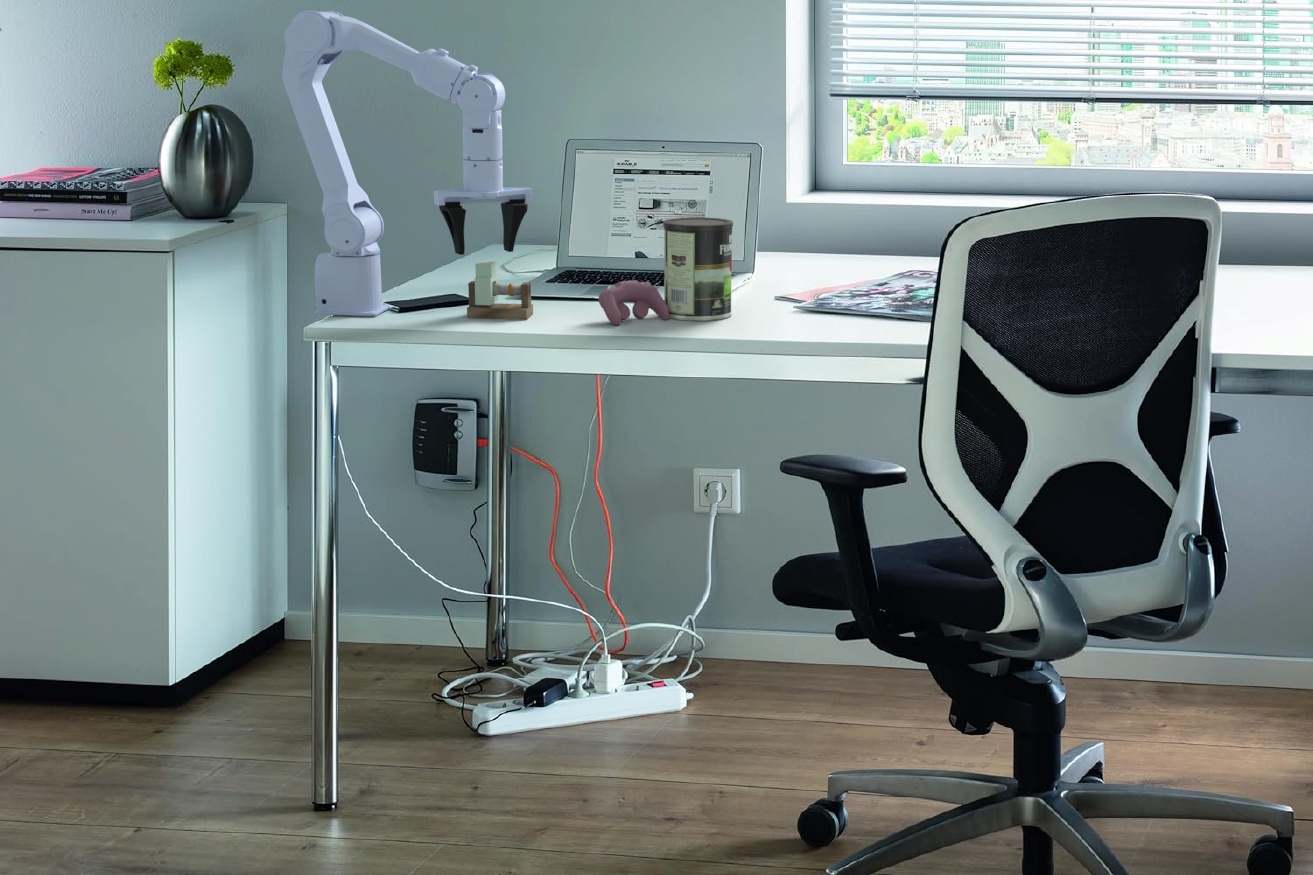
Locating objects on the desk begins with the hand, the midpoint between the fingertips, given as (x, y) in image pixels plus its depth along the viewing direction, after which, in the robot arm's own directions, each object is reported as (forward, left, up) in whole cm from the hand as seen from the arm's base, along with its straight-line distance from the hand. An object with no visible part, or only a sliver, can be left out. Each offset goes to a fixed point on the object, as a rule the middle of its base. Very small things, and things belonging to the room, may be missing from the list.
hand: (484, 252), depth 230 cm
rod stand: (+2, 0, -10) cm, 10 cm away
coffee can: (+31, +6, -10) cm, 33 cm away
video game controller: (+22, 0, -10) cm, 24 cm away
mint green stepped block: (0, 0, -7) cm, 8 cm away
